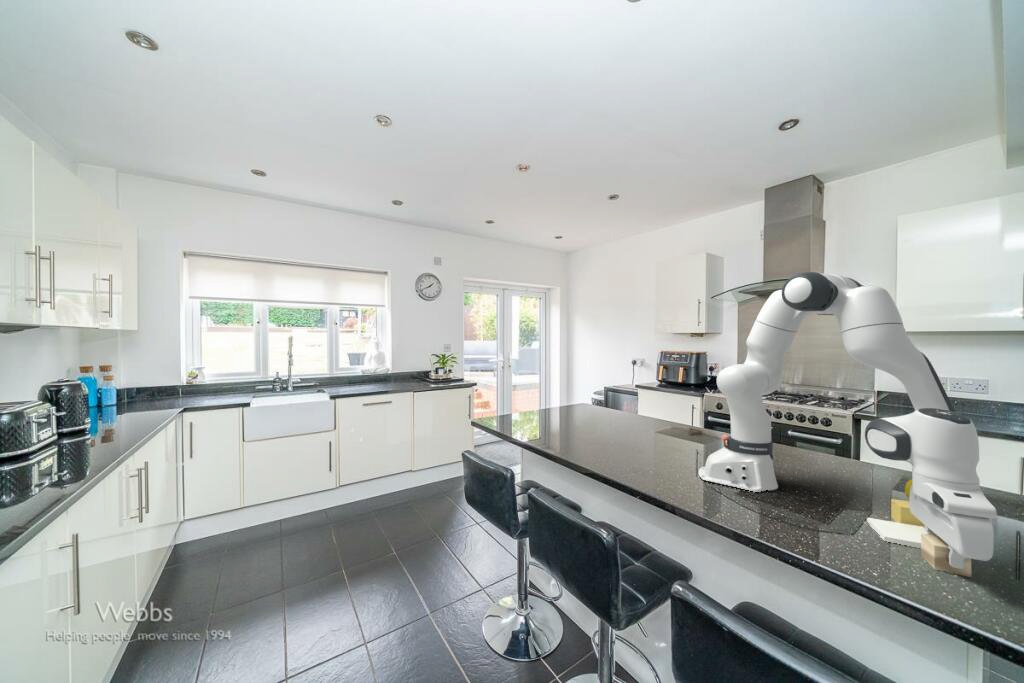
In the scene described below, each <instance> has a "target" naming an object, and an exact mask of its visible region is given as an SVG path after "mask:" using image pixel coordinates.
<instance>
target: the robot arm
mask: <svg viewBox="0 0 1024 683" xmlns="http://www.w3.org/2000/svg"><path fill="white" fill-rule="evenodd" d="M813 314H814V315H818V316H821V315H822V316H834V317H835V318H836V320H837V322H838V324H839V329H840V334H841V338H842V339H841V340H842V343H843V346H844V348H845V351H846V352H847V354H848V356H850V358H852V359H853V360H855V361H856V362H858V363H860V364H862V365H865V366H866V367H870V368H874V369H876V370H880V371H882V372H885V373H887V374H889V375H891V376H893V377H894V378H896V379H897V380H898V381H900V383H902V384H901V385H903V387H904V389H905V390H906V393H907V395H908V398H909V400H910V401H911V402H910V403H911V404H912V407H913V409H914V411H913V412H910V413H908V414H903V415H899V416H897V415H896V416H890V417H880V418H874V419H872V420H871V421H870V422H868V423H867V425H866V427H865V431H864V439H865V443H866V444H867V446H868V448H869V449H870V450H871V451H872V452H873V453H874V454H875V455H876V456H878V457H880V458H883V459H886V460H891V461H897V462H899V461H900V462H901V461H902V462H906V463H909V464H910V465H911V467H912V468H911V473H912V474H911V475H912V477H911V479H912V485H911V488H910V496H909V499H908V501H909V509H910V512H911V514H913V515H914V516H915V517H916V518H917V519H919V520H920V521H921V522H922V523H923V524H924V525H925V530H926V533H927V534H928V535H934V536H939V537H940V538H941V539H942V540H943V541H945V542H946V543H947V544H948V548H949V549H950V552H949V554H946V558H947V559H946V561H947V563H949V564H950V565H951V566H952V567H954V568H959V569H963V568H964V560H965V559H966V558H971V560H977V561H982V562H988V561H990V560H991V559H992V558H993V556H994V549H995V548H994V544H995V528H994V524H993V522H992V521H991V519H993V520H996V519H997V516H998V515H997V509H996V507H995V506H994V505H993V504H992V503H991V502H990V501H989V499H987V497H986V496H985V495H984V494H985V493H983V491H982V489H981V487H980V477H979V476H978V473H977V466H978V464H979V461H980V445H979V444H980V442H979V436H978V431H977V429H976V426H975V424H974V422H973V421H972V420H971V418H970V417H968V416H966V415H964V414H962V413H959V412H956V411H955V408H954V407H953V405H952V402H951V400H950V398H949V397H948V394H947V392H946V390H945V388H944V386H943V384H942V382H941V380H940V378H939V376H938V374H937V371H936V370H935V368H934V366H933V364H932V362H931V361H930V359H929V358H928V357H927V356H926V355H925V353H924V352H922V351H920V350H919V349H918V348H917V347H916V346H915V345H914V343H913V341H912V340H911V339H910V338H909V335H908V334H907V331H906V328H905V325H904V323H903V319H902V316H901V314H900V311H899V309H898V307H897V304H896V303H895V301H894V299H893V297H892V296H891V294H890V293H889V291H888V290H886V288H884V287H881V286H876V285H862V284H861V283H860V282H858V281H857V280H855V279H853V278H851V277H845V276H842V275H838V274H834V273H821V272H815V271H806V272H805V271H804V272H801V273H800V272H799V273H796V274H794V275H792V276H790V277H789V278H788V279H787V280H786V281H785V283H783V286H782V289H778V290H775V291H773V292H772V293H771V294H770V295H769V297H768V298H767V300H766V301H765V302H764V303H763V306H762V307H761V309H760V311H759V313H758V314H757V317H756V319H755V320H754V323H753V325H752V327H751V330H750V332H749V334H748V337H747V339H746V341H745V343H746V347H747V354H746V358H745V361H744V362H743V363H736V364H730V365H729V366H727V367H725V368H723V369H721V370H720V371H719V372H718V374H717V376H716V385H717V388H718V390H719V392H721V393H722V394H723V396H724V398H725V400H726V403H727V406H728V410H729V417H730V435H729V436H728V435H727V434H723V435H722V437H721V439H722V441H723V447H721V448H719V449H718V450H716V451H714V452H713V453H710V454H709V455H708V456H707V457H706V458H707V459H706V461H705V465H704V466H702V467H700V468H699V469H698V472H697V474H699V476H700V477H701V478H702V479H703V480H706V481H711V482H715V483H720V484H724V485H728V486H733V487H737V488H741V489H745V490H749V491H748V492H750V491H753V492H752V493H755V492H759V493H761V491H762V492H765V491H766V490H768V491H774V490H777V489H778V488H779V485H778V481H777V478H776V474H775V470H774V465H773V464H774V462H773V459H774V458H775V457H774V453H775V452H774V442H773V441H772V417H771V415H770V414H769V412H767V410H766V407H765V404H764V400H763V396H767V395H770V394H772V393H774V392H775V391H777V390H778V389H780V388H781V386H782V384H783V374H782V372H783V368H784V367H783V366H784V363H785V359H786V355H787V353H788V351H789V349H790V347H791V345H792V343H793V341H794V339H795V337H796V334H797V332H798V330H799V329H800V326H801V325H802V323H803V321H804V319H805V318H806V317H808V316H809V315H813ZM699 476H698V477H699ZM745 490H744V491H745Z"/></svg>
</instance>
